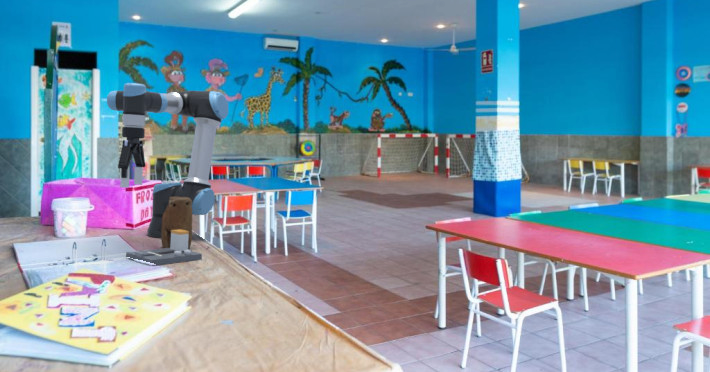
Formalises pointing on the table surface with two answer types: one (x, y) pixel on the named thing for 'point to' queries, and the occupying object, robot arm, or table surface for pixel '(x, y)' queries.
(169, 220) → the brown rounded upright piece
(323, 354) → the table surface
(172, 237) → the fader tab
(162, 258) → the console board
